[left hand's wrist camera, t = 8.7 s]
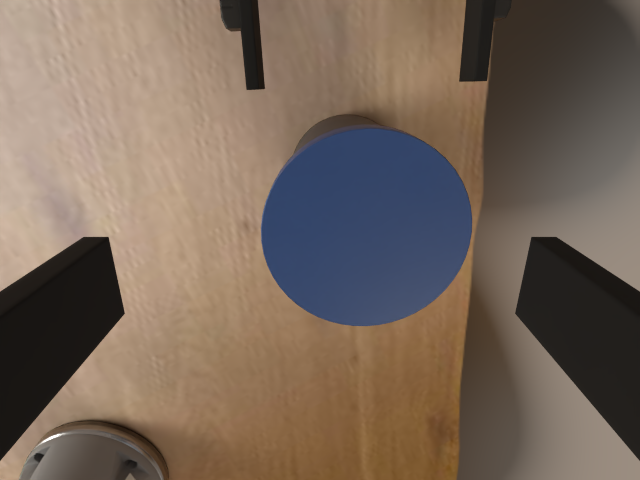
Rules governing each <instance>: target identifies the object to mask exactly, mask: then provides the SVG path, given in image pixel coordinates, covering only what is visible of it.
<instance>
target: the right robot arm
mask: <svg viewBox="0 0 640 480" xmlns="http://www.w3.org/2000/svg"><path fill="white" fill-rule="evenodd" d="M220 7H221V8H220V9H221V18H222V21H223V23H224V25H225V27H226V29H228V30H230V31H241V36H242V46H243V57H244V67H245V77H246V88H247V90H256V89H265V85H264V72H263V60H262V48H261V35H260V23H259V10H258V0H220ZM510 8H511V0H466V11H465V22H464V33H463V45H462V56H461V67H460V79H459V82H463V81H487V76H488V67H489V58H490V49H491V40H492V31H493V22H494V21H498V20H501V19H503V18H506V16H507V14H508V12H509V10H510Z"/></svg>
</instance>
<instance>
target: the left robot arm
mask: <svg viewBox="0 0 640 480" xmlns="http://www.w3.org/2000/svg"><path fill="white" fill-rule="evenodd" d="M124 314H125V312H124V308H123V303H122V298H121V294H120V289H119V284H118V280H117V275H116V270H115V265H114V261H113V256H112V251H111V247H110V242H109V237H83V238H82V239H80V240H78V241H77V242H75V243H74V244H72V245H71V246H69V247H68V248H66V249H65V250H63V251H62V252H60V253H59V254H57V255H56V256H54V257H52V258H51V259H49V260H48V261H46V262H45V263H43V264H42V265H40V266H39V267H37V268H36V269H34V270H33V271H31V272H30V273H28V274H27V275H25V276H23V277H22V278H20V279H19V280H17V281H16V282H14V283H13V284H11V285H10V286H8V287H7V288H5V289H4V290H2V291H1V292H0V460H1V459H2V458H3V457H4V456H5V454H6V453H7V452H8V451H9V450H10V449H11V447H12V446H13V445H14V444H15V443H16V441H17V440H18V439H19V438H20V437H21V436H22V434H23V433H24V432H25V431H26V430H27V428H28V427H29V426H30V425H31V424H32V423H33V421H34V420H35V419H36V418H37V417H38V415H39V414H40V413H41V412H42V411H43V410H44V408H45V407H46V406H47V405H48V404H49V402H50V401H51V400H52V399H53V398H54V397H55V395H56V394H57V393H58V392H59V391H60V389H61V388H62V387H63V386H64V385H65V384H66V382H67V381H68V380H69V379H70V378H71V376H72V375H73V374H74V373H75V372H76V371H77V369H78V368H79V367H80V366H81V365H82V363H83V362H84V361H85V360H86V359H87V358H88V356H89V355H90V354H91V353H92V352H93V350H94V349H95V348H96V347H97V346H98V345H99V343H100V342H101V341H102V340H103V339H104V337H105V336H106V335H107V334H108V333H109V331H110V330H111V329H112V328H113V327H114V326H115V324H116V323H117V322H118V321H119V320H120V318H121V317H122V316H123V315H124ZM515 314H516V315H517V316H518V317H519V318H520V320H521V321H522V322H523V323H524V324H525V326H526V327H527V328H528V329H529V330H530V331H531V333H532V334H533V335H534V336H535V337H536V339H537V340H538V341H539V342H540V343H541V345H542V346H543V347H544V348H545V349H546V350H547V352H548V353H549V354H550V355H551V356H552V357H553V359H554V360H555V361H556V362H557V363H558V365H559V366H560V367H561V368H562V369H563V370H564V372H565V373H566V374H567V375H568V376H569V378H570V379H571V380H572V381H573V382H574V384H575V385H576V386H577V387H578V388H579V389H580V391H581V392H582V393H583V394H584V395H585V397H586V398H587V399H588V400H589V401H590V402H591V404H592V405H593V406H594V407H595V408H596V409H597V411H598V412H599V413H600V414H601V415H602V417H603V418H604V419H605V420H606V421H607V423H608V424H609V425H610V426H611V427H612V428H613V430H614V431H615V432H616V433H617V434H618V436H619V437H620V438H621V439H622V440H623V441H624V443H625V444H626V445H627V446H628V447H629V449H630V450H631V451H632V452H633V453H634V454H635V456H636V457H637V458H638V459H639V460H640V292H639V291H638V290H636V289H635V288H633V287H632V286H630V285H629V284H627V283H626V282H624V281H623V280H621V279H620V278H618V277H617V276H615V275H613V274H612V273H610V272H609V271H607V270H606V269H604V268H603V267H601V266H600V265H598V264H597V263H595V262H594V261H592V260H591V259H589V258H587V257H586V256H584V255H583V254H581V253H580V252H578V251H577V250H575V249H574V248H572V247H571V246H569V245H568V244H566V243H565V242H563V241H562V240H560V239H558V238H557V237H532V238H531V242H530V247H529V251H528V256H527V261H526V265H525V270H524V275H523V280H522V284H521V289H520V294H519V298H518V303H517V308H516V313H515ZM19 480H169V475H168V469H167V466H166V463H165V461H164V459H163V457H162V456H161V454H160V453H159V452H158V451H157V449H156V448H155V447H154V446H153V445H152V444H151V443H149V442H148V441H147V440H146V439H144V438H143V437H141V436H140V435H138V434H136V433H134V432H132V431H130V430H128V429H125V428H123V427H120V426H117V425H113V424H109V423H104V422H96V421H81V422H73V423H68V424H65V425H62V426H59V427H57V428H55V429H53V430H51V431H50V432H48V433H47V434H46V435H45V436H44V437H43V438H42V439H41V440H40V441H39V443H38V444H37V445H36V446H35V448H34V449H33V450H32V451H31V453H30V454H29V456H28V458H27V460H26V462H25V464H24V467H23V469H22V472H21V475H20V477H19Z"/></svg>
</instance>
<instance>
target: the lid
mask: <svg viewBox="0 0 640 480" xmlns="http://www.w3.org/2000/svg"><path fill="white" fill-rule="evenodd" d="M471 233H472V214H471V206H470V202H469V198H468V194H467V191H466V189H465V187H464V184H463V182H462V180H461V178H460V177H459V175H458V173H457V172H456V170H455V169H454V168H453V166H452V165H451V164H450V163H449V162H448V160H447V159H446V158H445V157H444V156H442V155H441V154H440V153H439V152H438V151H437V150H436V149H434V148H433V147H431V146H430V145H428V144H427V143H425V142H424V141H422V140H420V139H418V138H416V137H414V136H412V135H410V134H408V133H406V132H404V131H401V130H398V129H395V128H391V127H387V126H380V125H353V126H346V127H342V128H339V129H335V130H332V131H330V132H327V133H325V134H322V135H320V136H318V137H317V138H315V139H313V140H311V141H310V142H308V143H307V144H306V145H304V146H303V147H302V148H300V149H299V150H298V151H297V152H296V153H295V154H294V155H293V156H292V157H291V158H290V159H289V160H288V161H287V163H286V164H285V165H284V167H283V168H282V169H281V171H280V172H279V174H278V176H277V178H276V179H275V181H274V183H273V186H272V188H271V190H270V193H269V195H268V198H267V200H266V203H265V207H264V211H263V215H262V224H261V241H262V247H263V253H264V256H265V259H266V262H267V265H268V268H269V270H270V272H271V274H272V276H273V278H274V279H275V281H276V282H277V284H278V285H279V287H280V288H281V289H282V290H283V291H284V292H285V294H286V295H287V296H288V297H289V298H290V299H292V300H293V301H294V302H295V303H296V304H297V305H299V306H300V307H302V308H303V309H305V310H306V311H308V312H309V313H311V314H313V315H315V316H317V317H320V318H322V319H325V320H328V321H331V322H335V323H339V324H344V325H352V326H372V325H380V324H385V323H390V322H393V321H397V320H400V319H403V318H405V317H407V316H409V315H412V314H414V313H416V312H417V311H419V310H421V309H422V308H424V307H426V306H427V305H428V304H430V303H431V302H432V301H434V300H435V299H436V298H437V297H438V296H439V295H440V294H441V293H442V292H443V291H444V290H445V289H446V288H447V287H448V286H449V285H450V283H451V282H452V281H453V280H454V278H455V276H456V275H457V273H458V272H459V270H460V268H461V266H462V264H463V262H464V260H465V257H466V254H467V251H468V248H469V245H470V239H471Z"/></svg>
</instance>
